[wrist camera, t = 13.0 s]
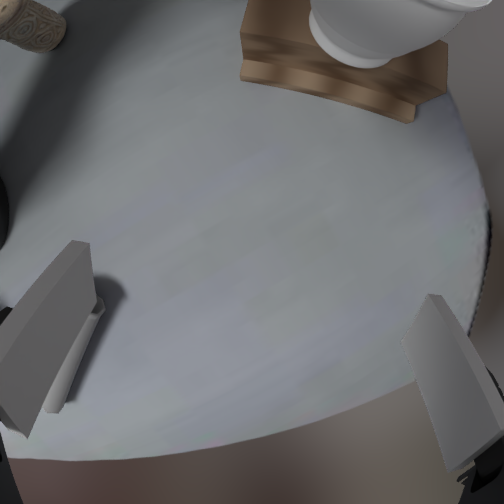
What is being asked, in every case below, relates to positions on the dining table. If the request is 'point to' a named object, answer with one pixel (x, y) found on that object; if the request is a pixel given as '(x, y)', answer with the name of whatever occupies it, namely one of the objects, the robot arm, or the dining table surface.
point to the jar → (383, 27)
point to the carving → (30, 25)
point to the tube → (72, 362)
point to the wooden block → (334, 64)
